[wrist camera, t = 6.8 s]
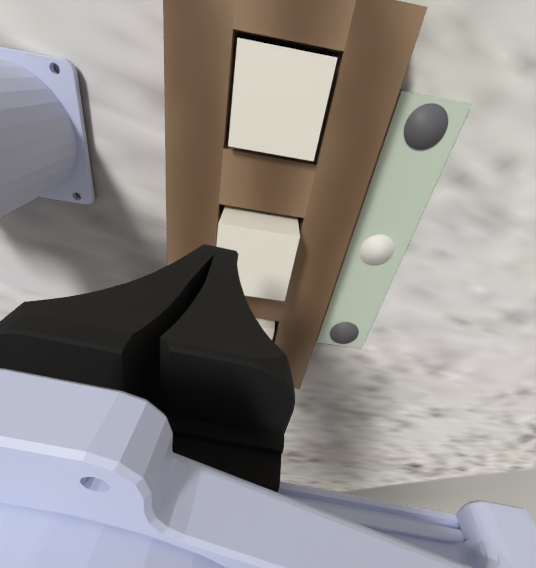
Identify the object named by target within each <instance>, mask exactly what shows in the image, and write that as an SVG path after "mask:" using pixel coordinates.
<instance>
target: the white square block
mask: <svg viewBox="0 0 536 568" xmlns="http://www.w3.org/2000/svg"><path fill="white" fill-rule="evenodd" d="M336 62H337V57H332V56H327V55H322V54H317V53H312V52H307V51H302V50H297V49H292V48H287V47H282V46H277V45H272V44H267V43H262V42H257V41H252V40H247V39H242V38H237V49H236V60H235V72H234V83H233V95H232V106H231V118H230V129H229V141H228V146H230V147H235V148H241V149H247V150H252V151H258V152H264V153H269V154H275V155H280V156H286V157H292V158H297V159H303V160H309V161H314V157H315V153H316V149H317V145H318V140H319V136H320V132H321V127H322V123H323V119H324V114H325V110H326V106H327V101H328V97H329V93H330V88H331V84H332V80H333V75H334V71H335V67H336Z"/></svg>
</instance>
